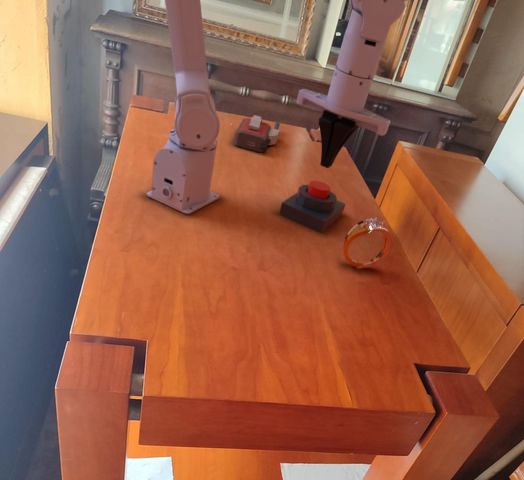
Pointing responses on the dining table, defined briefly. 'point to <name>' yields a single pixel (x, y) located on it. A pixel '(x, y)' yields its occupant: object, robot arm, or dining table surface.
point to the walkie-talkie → (256, 134)
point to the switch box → (312, 209)
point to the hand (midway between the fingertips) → (326, 165)
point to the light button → (318, 189)
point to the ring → (353, 234)
